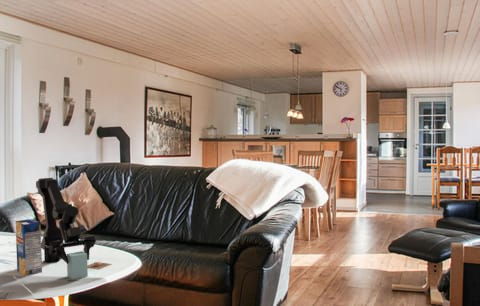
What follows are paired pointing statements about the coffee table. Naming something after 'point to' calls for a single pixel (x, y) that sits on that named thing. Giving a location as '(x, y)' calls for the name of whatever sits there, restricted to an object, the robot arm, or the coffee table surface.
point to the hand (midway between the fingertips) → (78, 261)
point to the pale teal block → (77, 265)
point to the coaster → (98, 266)
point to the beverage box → (28, 246)
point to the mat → (72, 280)
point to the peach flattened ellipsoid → (97, 264)
